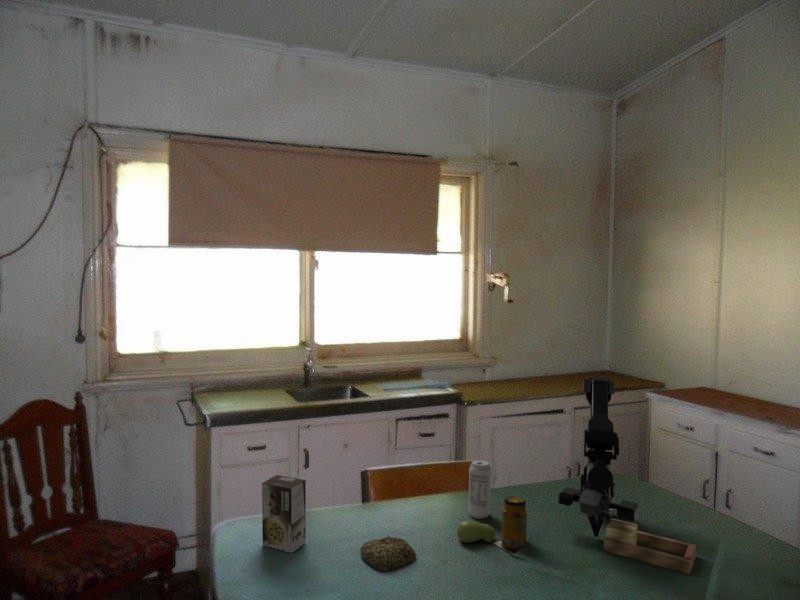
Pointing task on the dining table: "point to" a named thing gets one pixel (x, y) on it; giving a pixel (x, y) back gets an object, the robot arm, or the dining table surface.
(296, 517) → the coffee box
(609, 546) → the bay
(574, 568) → the dining table surface
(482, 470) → the energy drink can
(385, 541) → the bread roll
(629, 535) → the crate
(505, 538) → the condiment
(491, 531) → the pear
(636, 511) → the robot arm
